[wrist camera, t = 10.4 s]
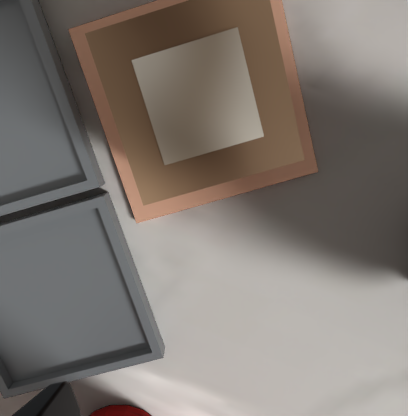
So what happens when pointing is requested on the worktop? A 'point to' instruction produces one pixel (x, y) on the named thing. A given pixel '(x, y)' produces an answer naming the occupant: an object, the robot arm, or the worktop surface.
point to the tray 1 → (38, 116)
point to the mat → (211, 192)
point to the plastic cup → (119, 411)
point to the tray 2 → (70, 298)
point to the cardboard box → (198, 94)
